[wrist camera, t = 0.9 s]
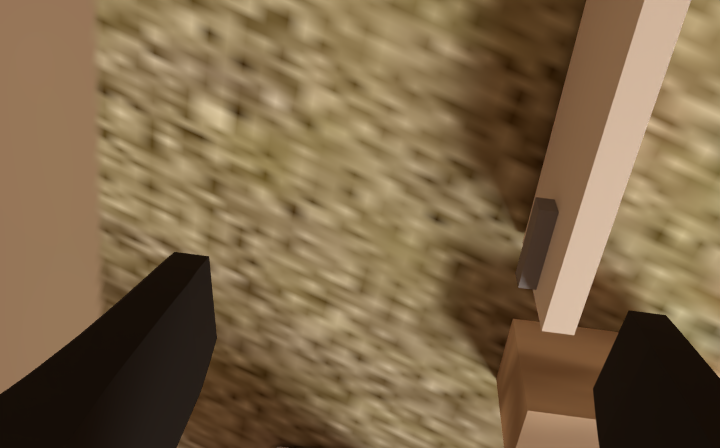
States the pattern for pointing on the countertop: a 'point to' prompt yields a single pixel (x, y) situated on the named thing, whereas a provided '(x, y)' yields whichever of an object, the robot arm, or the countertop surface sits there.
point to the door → (594, 149)
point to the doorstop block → (550, 386)
